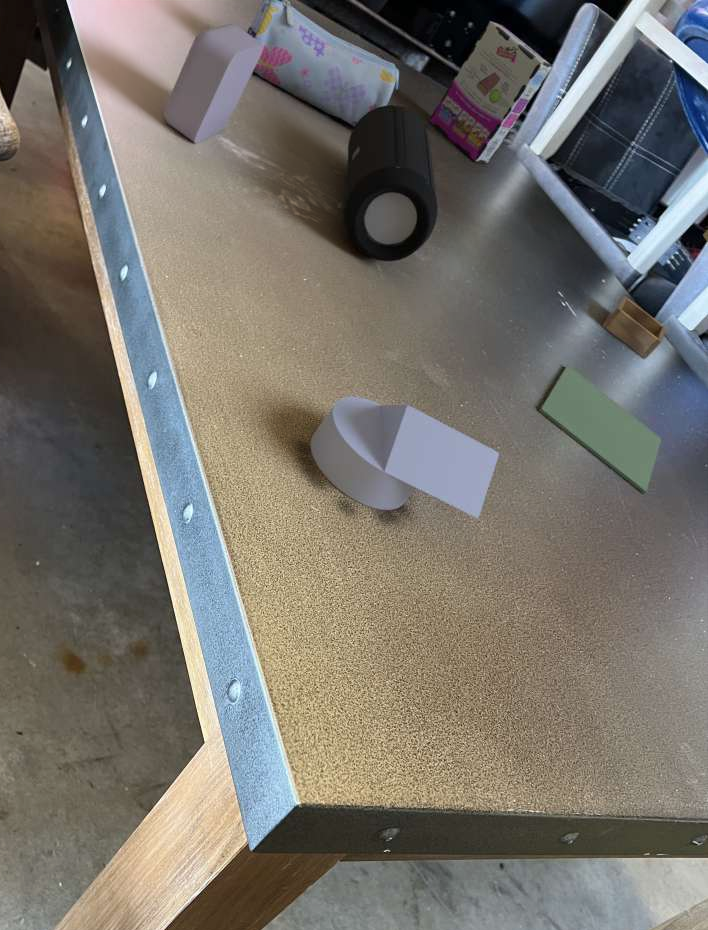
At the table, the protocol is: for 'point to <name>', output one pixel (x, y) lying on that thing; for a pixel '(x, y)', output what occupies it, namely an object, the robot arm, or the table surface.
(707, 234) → the tape stack
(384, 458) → the wedge on round base
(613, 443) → the mat
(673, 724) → the table surface
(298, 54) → the pencil case
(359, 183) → the portable speaker
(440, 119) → the popsicle box
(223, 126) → the mauve upright block
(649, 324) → the holder
